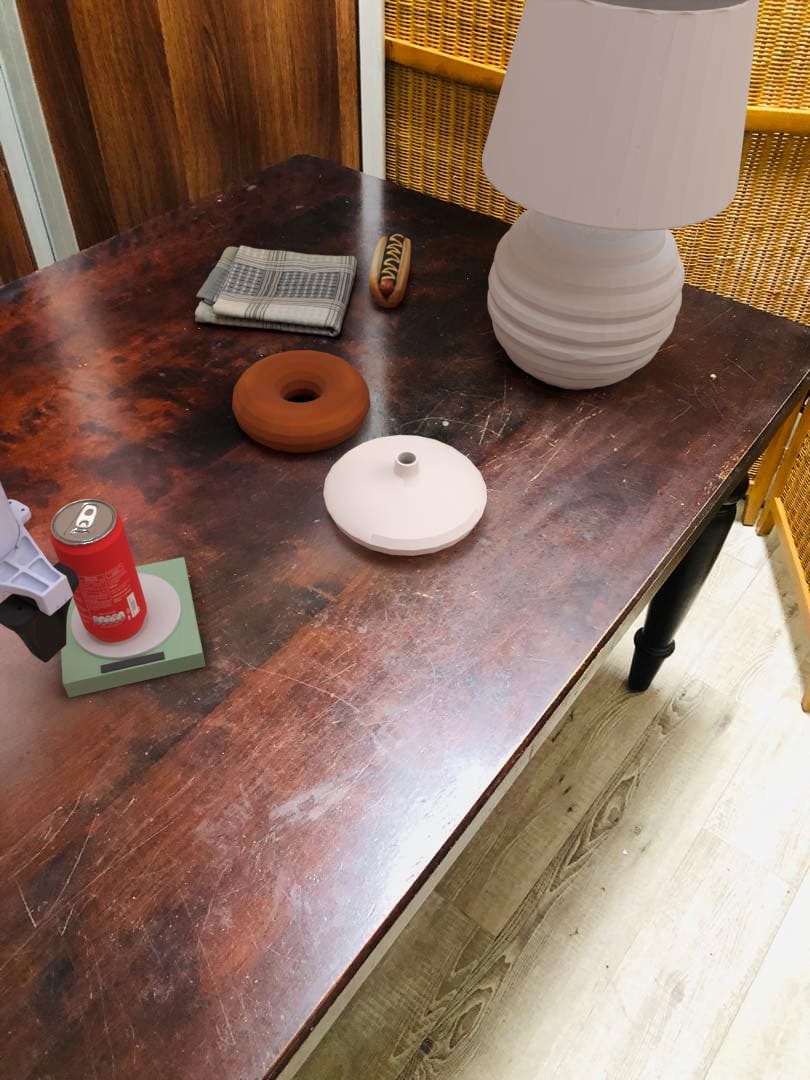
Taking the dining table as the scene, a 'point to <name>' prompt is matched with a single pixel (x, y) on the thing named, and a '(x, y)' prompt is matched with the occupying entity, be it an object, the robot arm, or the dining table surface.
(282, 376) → the donut
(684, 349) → the dining table surface
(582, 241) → the table lamp
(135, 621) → the beverage can
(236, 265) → the dish towel
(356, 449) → the vase
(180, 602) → the scale
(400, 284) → the hot dog
